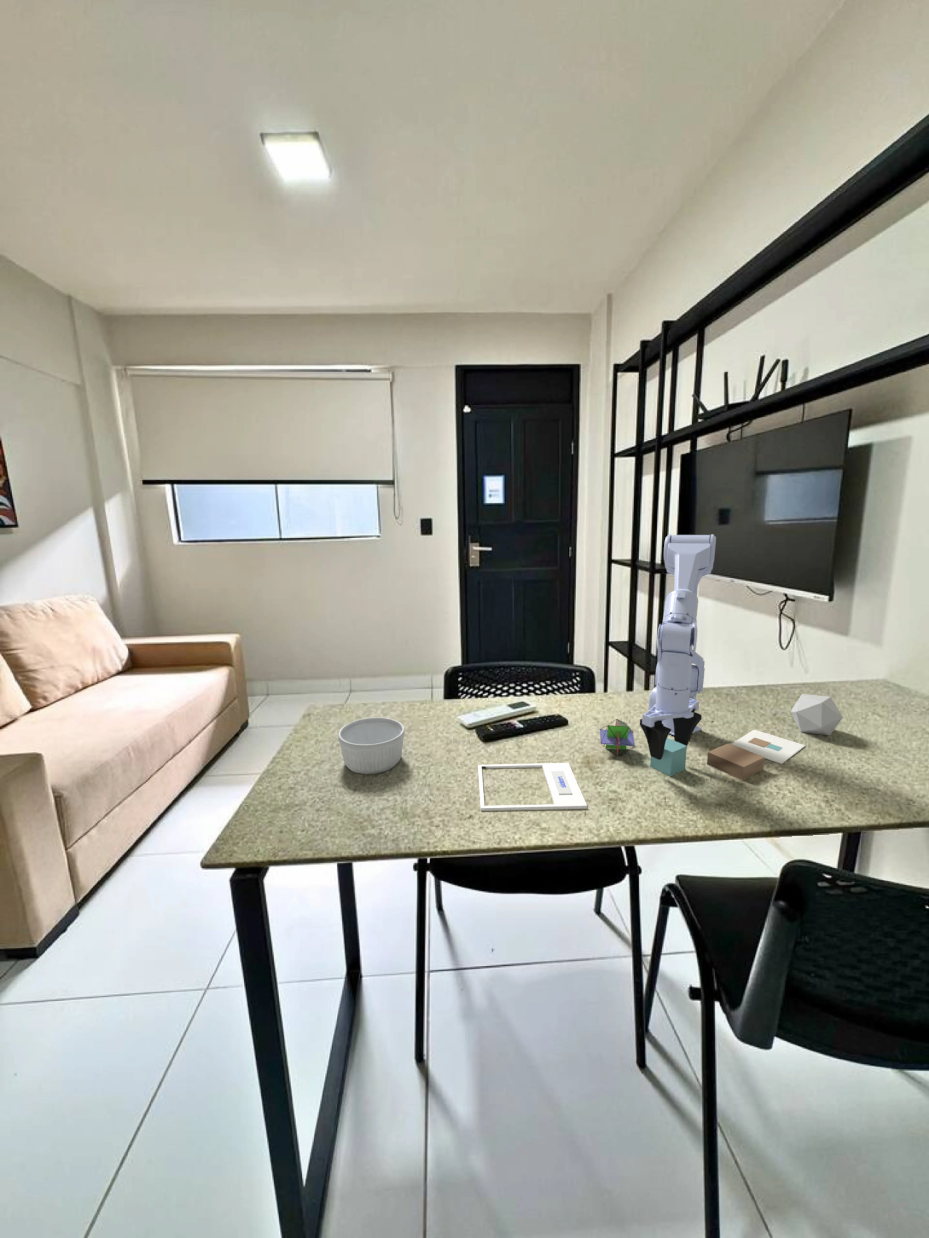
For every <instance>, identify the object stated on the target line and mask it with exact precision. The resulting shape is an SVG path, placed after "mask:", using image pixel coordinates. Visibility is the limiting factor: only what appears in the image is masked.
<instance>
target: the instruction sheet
mask: <svg viewBox="0 0 929 1238" xmlns="http://www.w3.org/2000/svg"><path fill="white" fill-rule="evenodd" d="M731 744H733V745H735V746H738V747H740V748H743V749H745V750H748V751H750V752H753V753H756V754H758V755H761V756H763V757H764V760H768V761H771V762H774V763H776V764H777V763H778V764H779V765H782V764H784V763H785V762H787V761H788V760H789V759H791V758H792V757H793V756H795V754H797V753H798V752H799V751H801V750H802V749H803V748H805V747H806V745H805V744H802V743H798V742H796V741H793V740H789V739H786V738H782V737H780V736H777V735H774V734H770V733H766V732H764V731H760V730H757V729H753V730H751V731H750V732H747V733H746V734H745V735H743V736H742V737H740V738H738V739H736V740H735V741H733V742H731Z"/></svg>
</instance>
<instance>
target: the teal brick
mask: <svg viewBox="0 0 929 1238" xmlns="http://www.w3.org/2000/svg"><path fill="white" fill-rule="evenodd" d="M687 749H688V746H686V745H683V744H681V743H679V742H676V741H674V739H671V738H669V737H667V739H666V742H665V747H664V753H663V757H662V759H660V760H658V759H656V758H654V757H652V756H650V762H649V763H650V764H649V765H650V766H649V767H650V768H653V769H655V770H657V771H658V772H661V773H663V774H665V775H667V776H669V777H672V776H674V775H677V774H678V773H680V772H683V771H685V770H686V762H687V760H686V759H687Z"/></svg>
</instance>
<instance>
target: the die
mask: <svg viewBox="0 0 929 1238" xmlns="http://www.w3.org/2000/svg"><path fill="white" fill-rule="evenodd" d="M790 714H791V715H792V717H793V719H794V721H795V724H796V725H797V727H798V729H799V730H800V732H801V733H807V734H814V735H820V736H827V737H828V736H831V735H832V733H833V732H834V731H835V729H836V728H837V727H838V725H839V724H840V723H841V721H842V720H843V718H844V717H843V715H842V713H841V712H840V710H839V708H838V706H837V705H836V704H835V702H834V700H833V699H832V697H831V696H826V695H816V694H806V693H802V694H801V695H800V697H799V698H798V700H797V701H796V703H795V704H794V705H793V707H792V709H791V710H790Z"/></svg>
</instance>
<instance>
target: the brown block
mask: <svg viewBox="0 0 929 1238" xmlns="http://www.w3.org/2000/svg"><path fill="white" fill-rule="evenodd" d="M764 764H765V758H764V757H763V756H761V755H758V754H756V753H753V752H750V751H748V750H745V749H743V748H740V747H738V746H735V745H733V744H732V743H730V742H729V743H728V742H727V743H726V744H723V745H721V746H719V747H715V748H714V749H712V750H710V751H708V752H707V759H706V765H707V766H710V767H712V768H714V769H717V770H718V771H721V772H723V773H726V774H728V775H729V776H732V777H734V778H736V779H739V780H740V781H743V780H746V779H747V778H750V777H752V776H754V775H756V774H758V773H759V772H761V771H763V770H764V766H765V765H764Z"/></svg>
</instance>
